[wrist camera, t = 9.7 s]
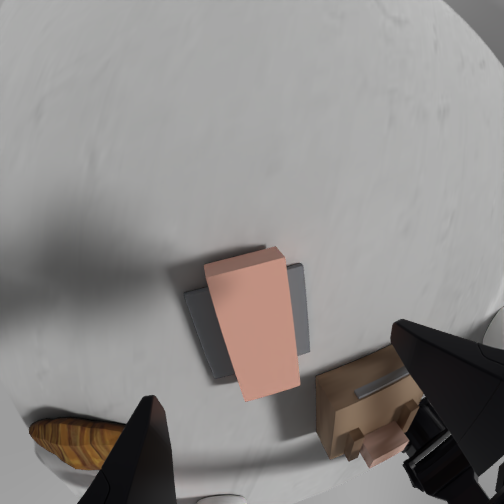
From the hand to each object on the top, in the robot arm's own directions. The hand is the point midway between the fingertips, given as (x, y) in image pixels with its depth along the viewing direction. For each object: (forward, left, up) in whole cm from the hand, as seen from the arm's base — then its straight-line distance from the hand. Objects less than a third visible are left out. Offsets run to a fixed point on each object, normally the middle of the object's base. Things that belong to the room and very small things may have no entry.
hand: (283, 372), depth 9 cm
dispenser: (-9, +16, -8) cm, 20 cm away
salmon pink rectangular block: (0, +4, -7) cm, 8 cm away
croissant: (+18, +12, -8) cm, 23 cm away
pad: (0, +4, -8) cm, 9 cm away
